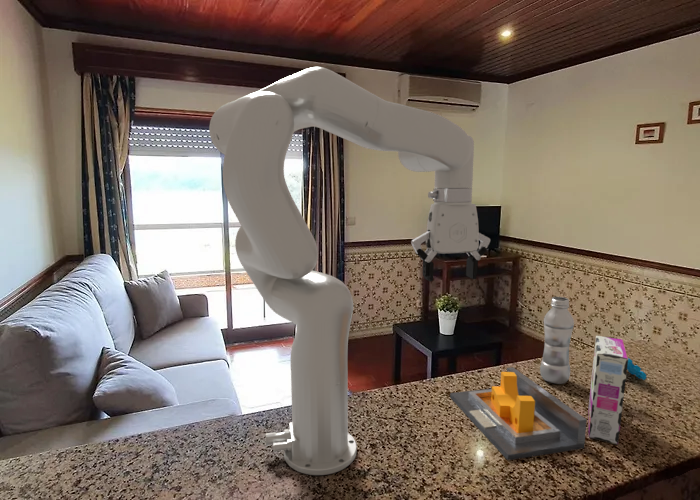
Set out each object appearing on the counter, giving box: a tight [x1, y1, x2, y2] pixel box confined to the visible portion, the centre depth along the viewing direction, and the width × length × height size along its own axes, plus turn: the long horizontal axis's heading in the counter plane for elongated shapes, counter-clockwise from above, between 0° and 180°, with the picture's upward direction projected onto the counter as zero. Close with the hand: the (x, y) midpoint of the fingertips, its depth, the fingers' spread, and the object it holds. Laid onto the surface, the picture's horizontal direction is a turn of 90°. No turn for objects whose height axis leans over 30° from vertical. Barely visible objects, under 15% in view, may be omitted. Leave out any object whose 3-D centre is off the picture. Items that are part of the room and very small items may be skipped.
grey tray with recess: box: [449, 366, 588, 461], centre depth 84 cm, size 15×22×6 cm
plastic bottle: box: [539, 296, 575, 385], centre depth 99 cm, size 6×7×20 cm
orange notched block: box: [491, 371, 535, 433], centre depth 83 cm, size 12×4×6 cm, turn 176°
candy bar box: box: [587, 335, 629, 445], centre depth 80 cm, size 11×5×16 cm, turn 152°
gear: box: [627, 357, 647, 381], centre depth 103 cm, size 11×6×10 cm
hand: (450, 278), depth 90 cm, fingers open, 9 cm apart
